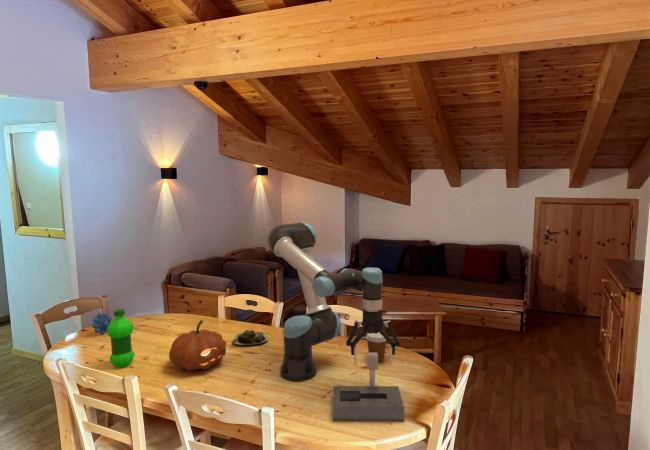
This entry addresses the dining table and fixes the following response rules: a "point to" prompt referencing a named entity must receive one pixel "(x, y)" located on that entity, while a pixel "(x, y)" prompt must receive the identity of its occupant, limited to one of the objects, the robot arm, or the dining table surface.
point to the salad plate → (250, 339)
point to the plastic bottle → (120, 339)
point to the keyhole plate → (367, 403)
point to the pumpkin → (197, 349)
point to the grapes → (101, 323)
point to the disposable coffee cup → (376, 345)
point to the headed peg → (372, 368)
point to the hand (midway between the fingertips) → (372, 362)
